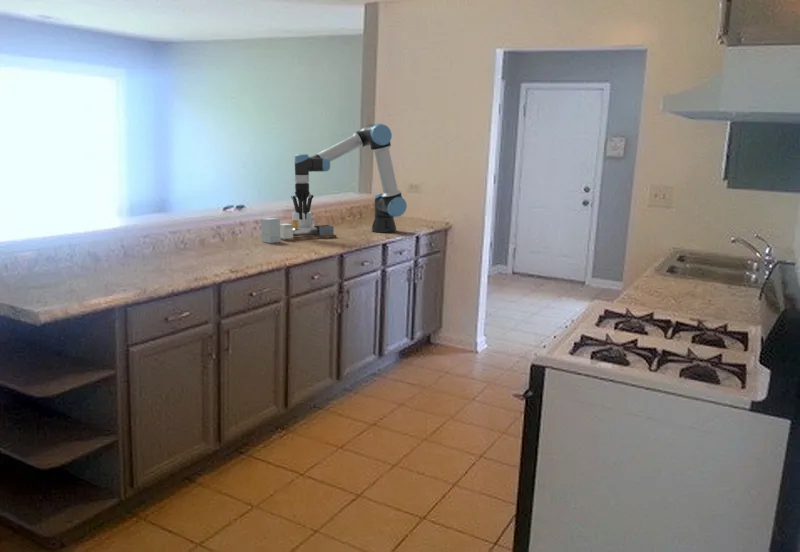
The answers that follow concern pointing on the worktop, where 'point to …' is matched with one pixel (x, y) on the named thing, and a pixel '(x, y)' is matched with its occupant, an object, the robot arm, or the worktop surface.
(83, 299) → the worktop surface
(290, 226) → the socket
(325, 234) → the sleeve
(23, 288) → the worktop surface
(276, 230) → the supplement box
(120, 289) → the worktop surface
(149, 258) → the worktop surface
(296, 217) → the mug
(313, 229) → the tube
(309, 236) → the rail board
